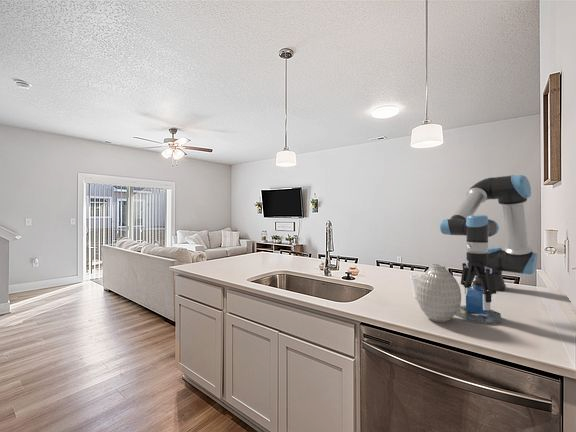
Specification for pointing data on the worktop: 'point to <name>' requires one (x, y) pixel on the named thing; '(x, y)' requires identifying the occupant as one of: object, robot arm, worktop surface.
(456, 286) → the vase
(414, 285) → the cup
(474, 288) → the perfume bottle
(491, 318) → the ring
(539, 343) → the worktop surface
